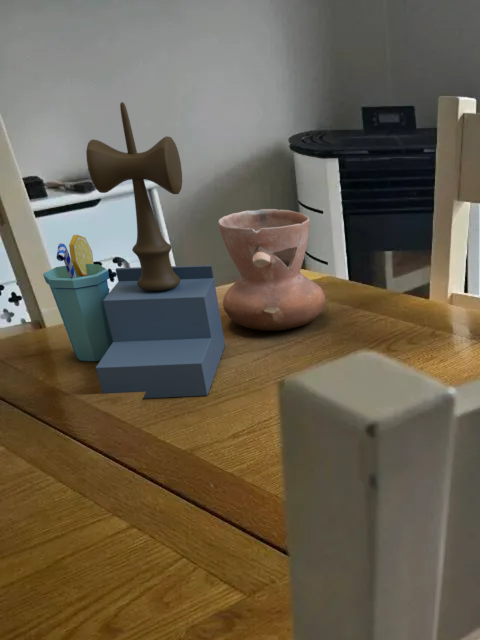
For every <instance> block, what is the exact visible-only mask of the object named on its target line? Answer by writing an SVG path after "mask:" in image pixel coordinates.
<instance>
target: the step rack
mask: <svg viewBox="0 0 480 640" xmlns="http://www.w3.org/2000/svg"><path fill="white" fill-rule="evenodd" d="M171 267H172V269H173V271H174V273H175V274H176V275H177V276H178V277H179V278H180V284H179V285H178V286H176V287H174V288H172V289H168V290H163V291H149V290H144V289H141V288H140V287H139V286H138V285H137V282H138V279H139V278H140V277H141V266H140V267H139V266H138V267H116V268H115V273H116V278H117V283H116V284H115V285H114V286H113V287H112V289H111V290H109V294H108V295H107V296H106V297H105V299H104V300H103V303H104V307H105V311H106V315H107V319H108V323H109V327H110V331H111V335H112V339H113V343H112V344H111V346H110V347H109V349H108V350H107V352H106V353H105V355H104V356H103V358H102V359H101V360H99V362H98V363H97V364H96V366H95V371H96V374H97V378H98V382H99V386H100V389H101V393H102V395H103V394H105V395H107V394H127V393H144V395H143V397H142V400H143V399H163V398H164V399H165V398H166V399H167V398H183V397H184V398H188V397H208V396H209V395H208V394H209V393H210V389H211V387H212V384H213V380H214V378H215V375H216V373H217V369H218V367H219V364H220V361H221V358H222V355H223V354H224V353H223V352H224V349H225V347H226V342H225V336H224V335H225V334H224V329H223V324H222V318H221V311H220V306H219V300H218V295H217V287H216V282H215V278H214V270H213V265H212V264H200V265H197V264H196V265H171Z"/></svg>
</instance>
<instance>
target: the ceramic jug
mask: <svg viewBox="0 0 480 640" xmlns="http://www.w3.org/2000/svg"><path fill="white" fill-rule="evenodd" d="M310 222H311V219H310V216H308V215H306V214H304V213H302V212H297V211H293V210H289V209H276V208H261V209H256V210H255V209H254V210H243V211H240V212H234V213H231V214H228V215H223V216H222V217H221V218H219V220H218V222H217V225H218V229H219V232H220V235H221V239H222V240H223V243H224V245H225V248H226V249H227V252H228V254H229V255H230V258H231V260H232V262H233V263H234V265H235V267H236V268H237V270H238V272H239V274H240V277H239V278H238V279H237V280H236V281H235V282H234V283H233V284H232V285H230V286H229V288H228V289H227V290H226V291H225V294H224V295H223V300H222V306H223V307H222V308H223V310H224V312H225V314H226V315H227V317H228V318H230V320H232V321H233V322H234V323H236V324H237V325H239V326H241V327H243V328H246V329H250V330H256V331H264V332H265V331H266V332H275V331H276V332H277V331H285V330H291V329H296V328H298V327H301V326H304V325H307V324H309V323H310V322H312V321H314V320H315V319H316V318H318V317H319V316H320V315H321V314H322V313H323V311H324V309H325V307H326V295H325V293H324V290H323V289H322V287H321V286H319V285H318V284H317V282H314V280H311V279H310V278H308V277H307V276H305V275H304V274H303V273H302V272H301V269H302V266H303V262H304V259H305V256H306V252H307V251H306V250H307V246H308V241H309V236H310V225H311V223H310Z"/></svg>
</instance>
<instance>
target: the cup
mask: <svg viewBox="0 0 480 640" xmlns="http://www.w3.org/2000/svg"><path fill="white" fill-rule="evenodd" d="M68 248H69V250H68ZM56 259H57V261H58V262H64V265H62V266H61V265H60V266H56V267H54V268H52V269H49V270H47V271H46V272H43V274H42V276H43V278H44V281H45V283H46V284H47V285H49V288H50V291H51V293H52V297H53V299H54V302H55V304H56V307H57V310H58V312H59V315H60V318H61V320H62V322H63V325H64V328H65V331H66V333H67V336H68V339H69V341H70V344H71V347H72V349H73V352H74V355H75V358H77V359H78V360H79V361H81V362H98V361H99V362H100V361H101V359H102V358H103V356H104V355H105V353H106V352H107V350H108V349H109V347H110V346H111V344H112V343H113V339H112V335H111V331H110V327H109V323H108V319H107V315H106V311H105V307H104V303H103V300H104V299H105V297H106V296H107V295H108V294H109V293H110V289H109V281H108V280H109V279H110V276H109V270H108V269H107V268H105V267H104V266H102V265H101V264H99V263H97V264H96V263H94V262H95V261H94V255H93V250H92V248H91V246H90V244H89V242H88V240H87V238H86V237H84V236H82V235H79V234H72V237H71V239H70V241H69V244H68V247H67V246H66V245H65V243H62V242H60V243H58V245H57V251H56Z"/></svg>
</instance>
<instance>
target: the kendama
mask: <svg viewBox="0 0 480 640" xmlns="http://www.w3.org/2000/svg"><path fill="white" fill-rule="evenodd" d="M119 108H120V109H119V110H120V116H121V123H122V128H123V133H124V139H125V145H126V151H127V152H125V151H122V150H121V151H120V150H118V149H115V148H114V147H112V146H110V145H108V144H107V143H104V142H102V141H100V140H98V139H90V140H89V141H88V142H87V146H86V150H85V153H86V162H87V163H86V164H87V165H86V166H87V170H88V173H89V177H90V180H91V182H92V184H93V186H94V189H96V190H97V192H99V193H100V194H106V193H109V192H111V191H112V190H113V189H115V188H116V187H117V186H119V185H121V184H122V183H124V182H126V181H130V180H131V182H132V189H133V197H134V206H135V207H134V208H135V219H136V231H137V232H136V234H137V235H136V243H134V245H133V246H132V249H131V250H132V252H133V253H134V255H136V256H137V258H138V261H139V265H140V267H141V277H140V278H139V279H138V282H137V285H138V286H139V287H140V288H141V289H144V290H149V291H163V290H168V289H172V288H174V287H176V286H178V285H179V284H180V278H179V277H178V276H177V275H176V274H175V273H174V271H173V269H172V267H171V266H172V264H171V259H170V252H171V250H172V245H171V244H170V243H168V242H167V240H165V238H164V236H163V234H162V232H161V230H160V227H159V225H158V222H157V219H156V216H155V213H154V210H153V207H152V203H151V201H150V197H149V194H148V190H147V186H146V182H145V180H146V181H149V182H152V183H154V184H156V185H157V186H159V187H160V188H162V189H164V190H165V191H167V192H168V193H170V194H172V195H179V194H180V193H181V191H182V187H183V170H182V169H183V168H182V161H181V157H180V153H179V150H178V147H177V144H176V142H175V140H174V139H173V138H172V137H171V136H164V137H162V138H161V139H160V140H159V141H157V143H155V144H154V145H153V146H152V147H151V148H149V149H147V150H145V151H142V152H138V150H137V148H136V142H135V138H134V133H133V129H132V125H131V121H130V117H129V113H128V110H127V106H126V104H125V102H123V101H121V102H120V103H119Z"/></svg>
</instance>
